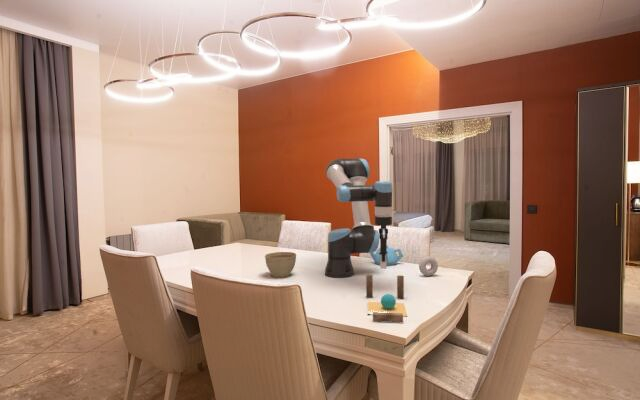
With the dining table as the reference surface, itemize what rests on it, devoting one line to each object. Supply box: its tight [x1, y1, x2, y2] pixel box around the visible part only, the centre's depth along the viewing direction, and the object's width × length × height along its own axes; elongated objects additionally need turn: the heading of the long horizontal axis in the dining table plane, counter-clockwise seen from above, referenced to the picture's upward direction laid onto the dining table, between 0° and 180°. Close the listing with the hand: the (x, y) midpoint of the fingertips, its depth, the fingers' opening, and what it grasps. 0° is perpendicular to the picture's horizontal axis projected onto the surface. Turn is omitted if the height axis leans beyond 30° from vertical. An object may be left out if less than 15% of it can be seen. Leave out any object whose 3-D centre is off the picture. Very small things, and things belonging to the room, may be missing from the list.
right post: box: [396, 274, 405, 300], centre depth 150 cm, size 3×3×9 cm
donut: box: [418, 255, 439, 277], centre depth 184 cm, size 10×3×10 cm, turn 102°
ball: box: [380, 293, 397, 309], centre depth 138 cm, size 6×6×6 cm
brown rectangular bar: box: [372, 312, 404, 323], centre depth 125 cm, size 10×2×2 cm, turn 82°
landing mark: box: [366, 301, 408, 317], centre depth 137 cm, size 14×14×1 cm
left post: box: [365, 274, 374, 299], centre depth 152 cm, size 3×3×9 cm
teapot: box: [369, 244, 404, 267], centre depth 214 cm, size 15×15×11 cm
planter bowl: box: [264, 251, 297, 278], centre depth 190 cm, size 16×16×11 cm
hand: (383, 268), depth 164 cm, fingers closed
